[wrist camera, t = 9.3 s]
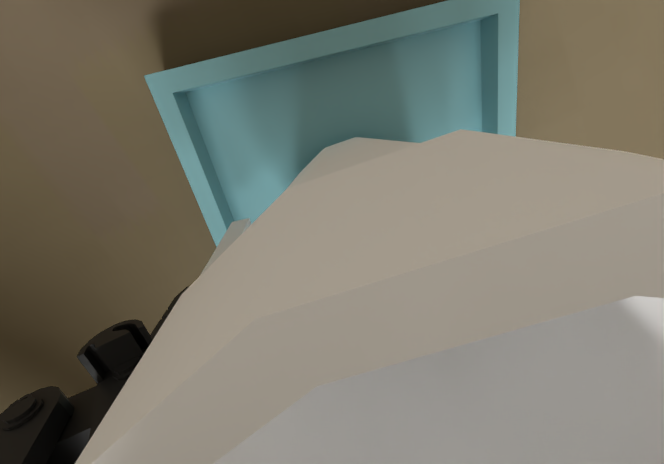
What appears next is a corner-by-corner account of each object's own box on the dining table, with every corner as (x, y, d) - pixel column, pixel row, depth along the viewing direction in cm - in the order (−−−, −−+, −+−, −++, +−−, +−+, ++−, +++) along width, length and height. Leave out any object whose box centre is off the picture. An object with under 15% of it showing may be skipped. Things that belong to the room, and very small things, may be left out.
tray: (264, 325, 20) (259, 349, 18) (165, 76, 14) (143, 75, 12) (492, 277, 20) (510, 297, 18) (492, -4, 13) (520, -18, 12)
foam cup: (242, 110, 13) (-335, 303, 1) (461, 87, 13) (1610, 85, 2) (279, 295, 17) (209, 750, 5) (447, 276, 17) (738, 682, 6)
